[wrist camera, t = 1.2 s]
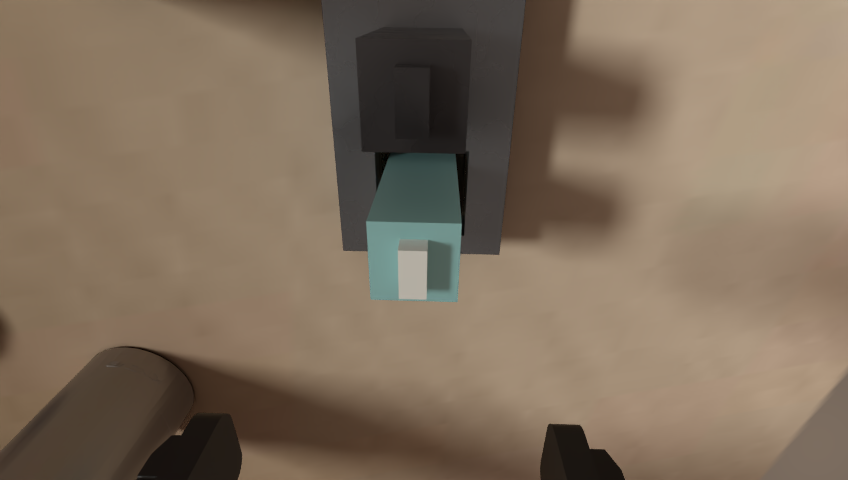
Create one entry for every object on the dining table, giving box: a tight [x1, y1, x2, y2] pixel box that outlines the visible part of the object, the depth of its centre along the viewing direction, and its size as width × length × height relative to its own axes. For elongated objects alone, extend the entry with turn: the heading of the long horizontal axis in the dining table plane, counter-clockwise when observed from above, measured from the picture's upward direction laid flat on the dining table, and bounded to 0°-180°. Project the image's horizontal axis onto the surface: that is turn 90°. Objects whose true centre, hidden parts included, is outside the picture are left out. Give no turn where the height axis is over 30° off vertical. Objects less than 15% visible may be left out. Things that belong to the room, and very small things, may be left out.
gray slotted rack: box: [321, 0, 526, 255], centre depth 20 cm, size 22×10×12 cm, turn 179°
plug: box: [366, 152, 462, 302], centre depth 24 cm, size 4×4×12 cm
